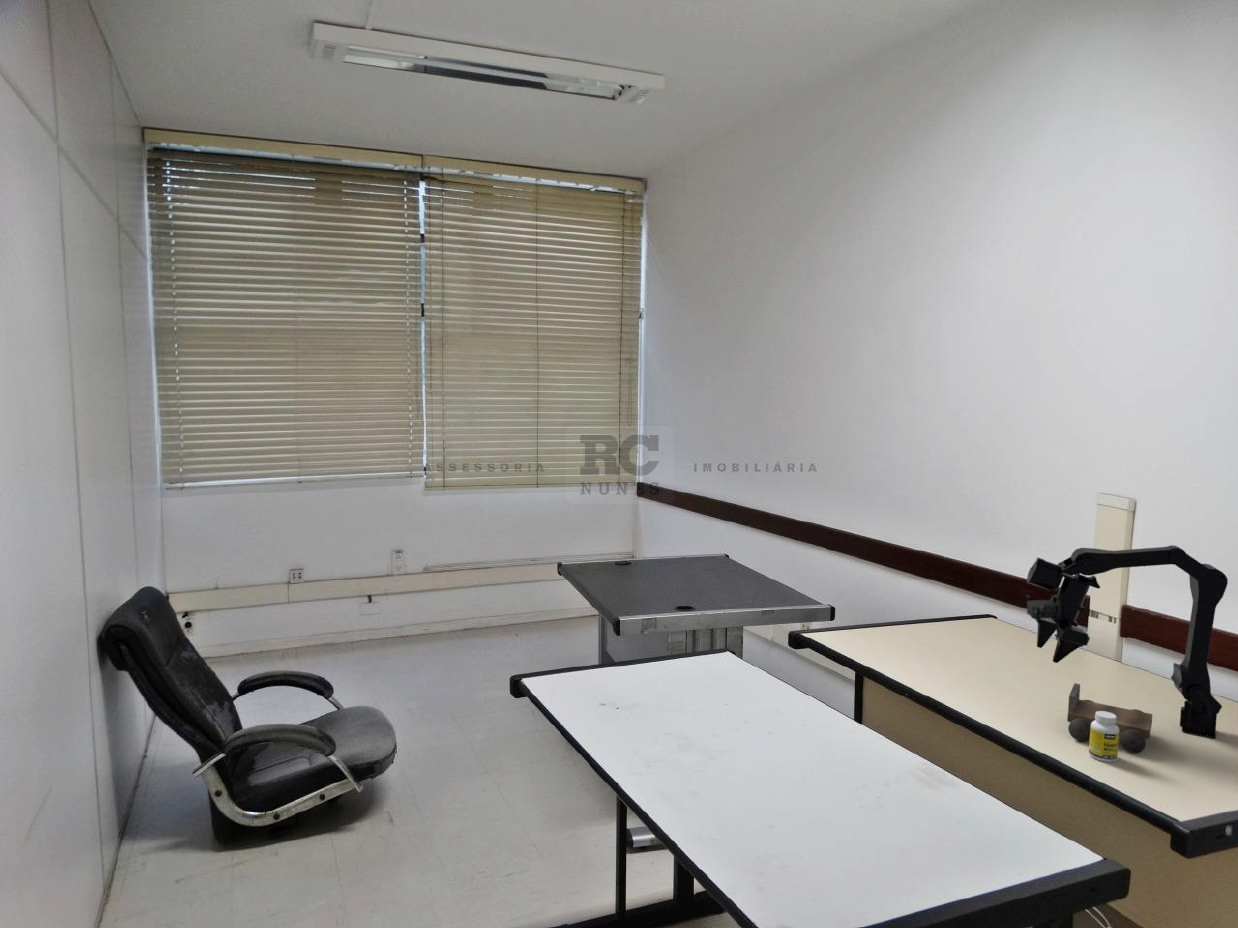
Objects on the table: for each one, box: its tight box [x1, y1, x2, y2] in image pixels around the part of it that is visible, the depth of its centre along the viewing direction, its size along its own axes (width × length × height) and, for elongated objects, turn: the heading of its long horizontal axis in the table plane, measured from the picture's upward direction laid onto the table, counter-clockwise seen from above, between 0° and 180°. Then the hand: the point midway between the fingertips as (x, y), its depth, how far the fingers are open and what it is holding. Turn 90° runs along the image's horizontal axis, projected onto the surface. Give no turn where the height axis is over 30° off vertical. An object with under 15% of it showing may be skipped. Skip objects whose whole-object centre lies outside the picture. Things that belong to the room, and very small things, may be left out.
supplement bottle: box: [1088, 711, 1120, 763], centre depth 176 cm, size 5×5×10 cm
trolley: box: [1066, 682, 1153, 754], centre depth 187 cm, size 16×15×9 cm
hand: (1046, 654), depth 200 cm, fingers open, 9 cm apart
